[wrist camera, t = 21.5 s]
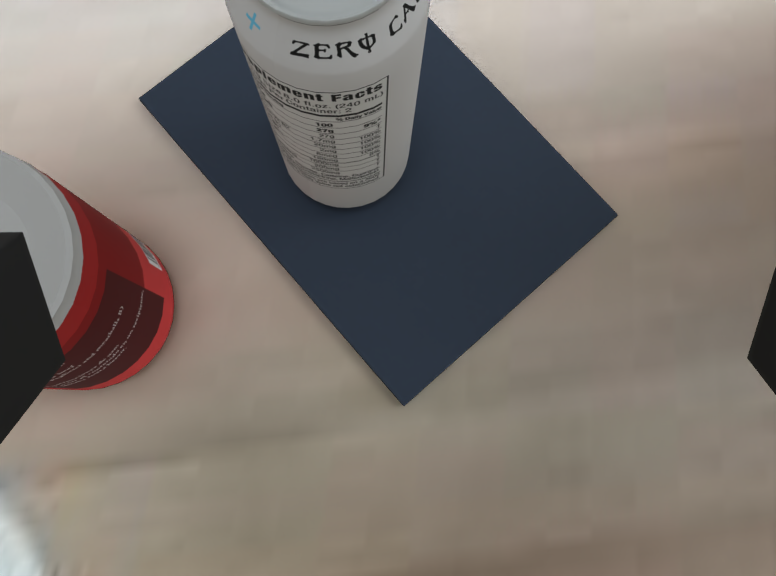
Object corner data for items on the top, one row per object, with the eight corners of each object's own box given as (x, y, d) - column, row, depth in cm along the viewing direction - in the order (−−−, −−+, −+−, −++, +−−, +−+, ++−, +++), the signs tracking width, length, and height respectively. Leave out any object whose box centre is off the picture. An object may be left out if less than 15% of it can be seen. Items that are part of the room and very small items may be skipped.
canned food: (24, 224, 31) (-162, 129, 20) (190, 236, 31) (92, 148, 20) (-4, 384, 30) (-219, 374, 19) (169, 396, 30) (53, 393, 19)
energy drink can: (429, 134, 32) (478, -97, 17) (369, 235, 31) (365, 83, 16) (325, 77, 32) (285, -196, 18) (262, 176, 31) (163, -26, 17)
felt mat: (615, 217, 32) (618, 214, 31) (403, 406, 30) (404, 406, 30) (352, -58, 34) (352, -64, 34) (141, 101, 32) (138, 98, 32)
